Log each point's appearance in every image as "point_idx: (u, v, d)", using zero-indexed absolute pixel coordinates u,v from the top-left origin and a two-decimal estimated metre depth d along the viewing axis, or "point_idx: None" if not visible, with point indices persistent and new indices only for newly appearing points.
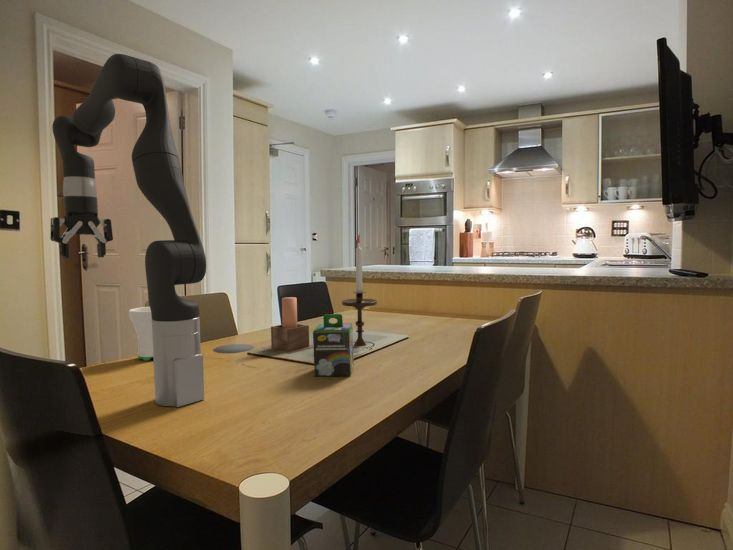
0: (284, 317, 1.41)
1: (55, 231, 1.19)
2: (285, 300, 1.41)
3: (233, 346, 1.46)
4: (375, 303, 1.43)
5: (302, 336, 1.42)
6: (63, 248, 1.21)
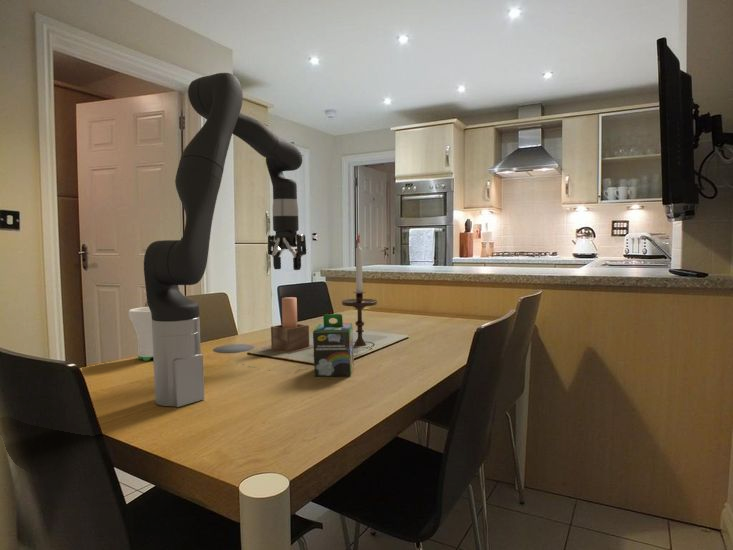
0: (284, 317, 1.41)
1: None
2: (285, 300, 1.41)
3: (233, 346, 1.46)
4: (375, 303, 1.43)
5: (302, 336, 1.42)
6: None
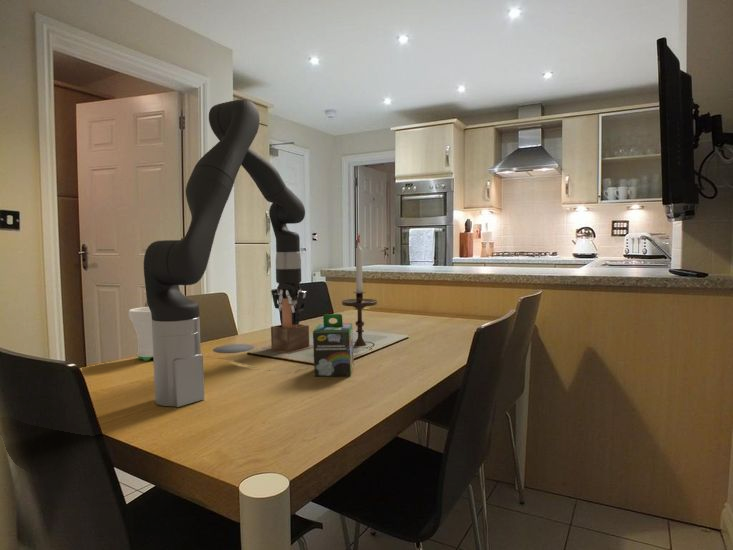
0: (284, 317, 1.41)
1: None
2: (285, 300, 1.41)
3: (233, 346, 1.46)
4: (375, 303, 1.43)
5: (302, 336, 1.42)
6: None
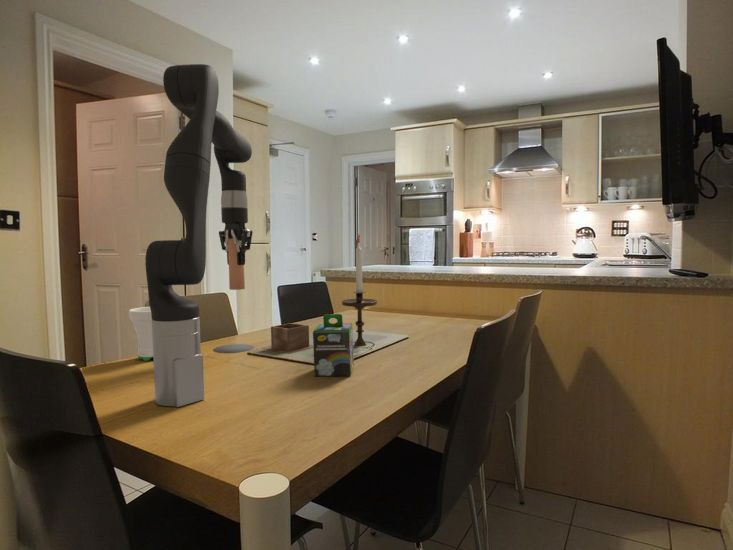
0: (230, 257, 1.40)
1: None
2: (230, 240, 1.39)
3: (233, 346, 1.46)
4: (375, 303, 1.43)
5: (302, 336, 1.42)
6: None
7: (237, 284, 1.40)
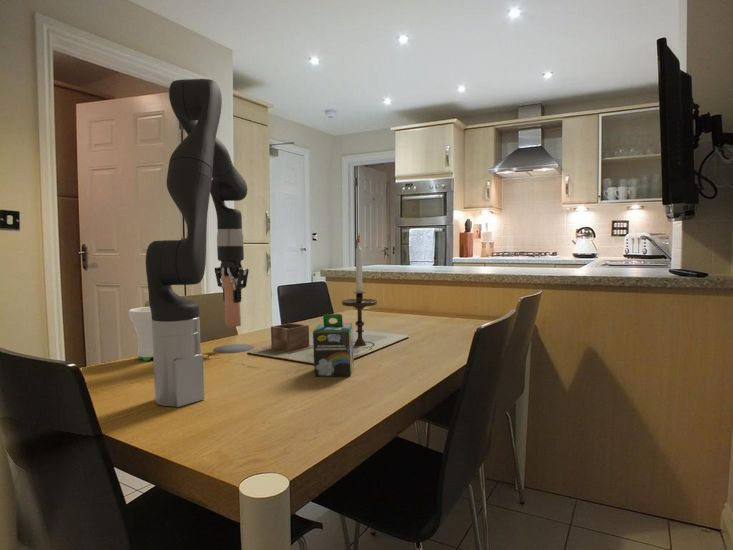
0: (226, 295, 1.40)
1: None
2: (226, 278, 1.40)
3: (233, 346, 1.46)
4: (375, 303, 1.43)
5: (302, 336, 1.42)
6: None
7: (233, 321, 1.41)
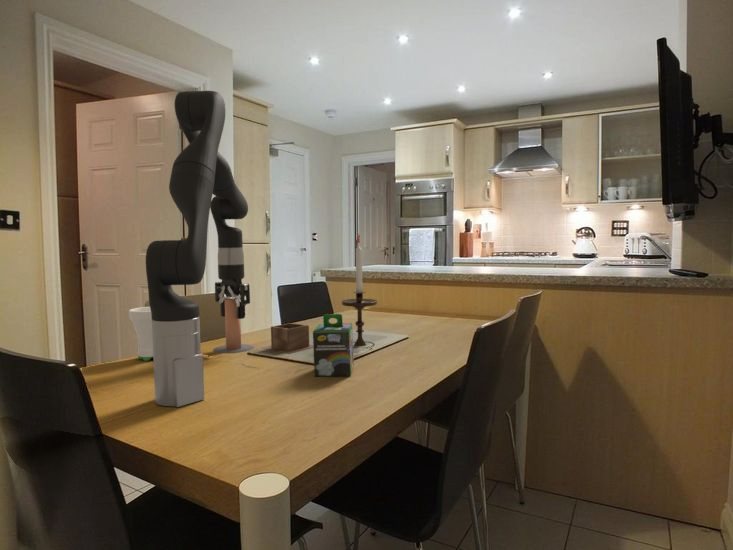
0: (226, 318, 1.41)
1: None
2: (227, 301, 1.40)
3: None
4: (375, 303, 1.43)
5: (302, 336, 1.42)
6: None
7: (234, 344, 1.41)
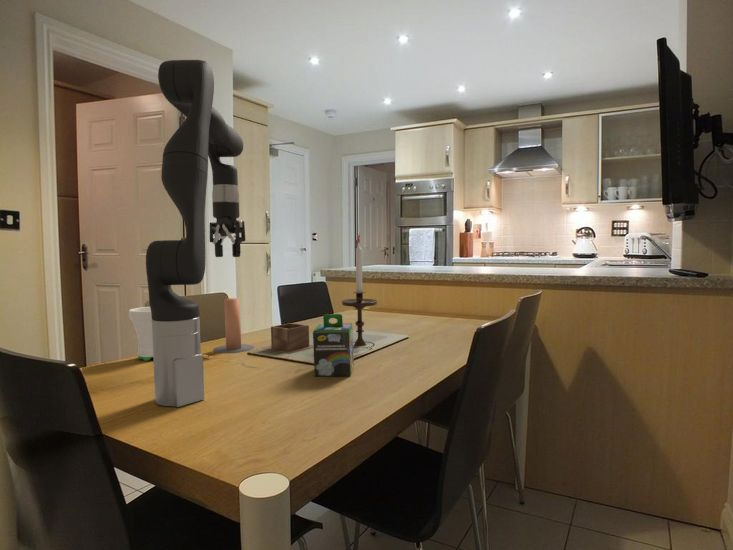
0: (226, 318, 1.41)
1: None
2: (227, 301, 1.40)
3: None
4: (375, 303, 1.43)
5: (302, 336, 1.42)
6: None
7: (234, 344, 1.41)
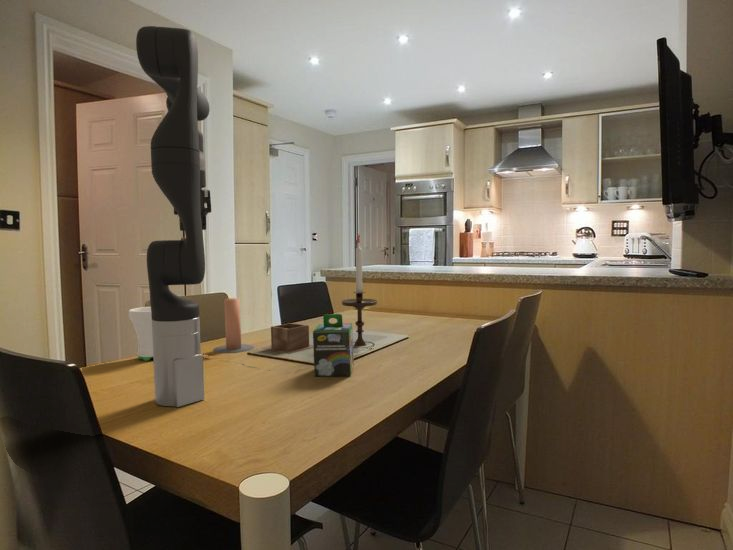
0: (226, 318, 1.41)
1: None
2: (227, 301, 1.40)
3: None
4: (375, 303, 1.43)
5: (302, 336, 1.42)
6: None
7: (234, 344, 1.41)
